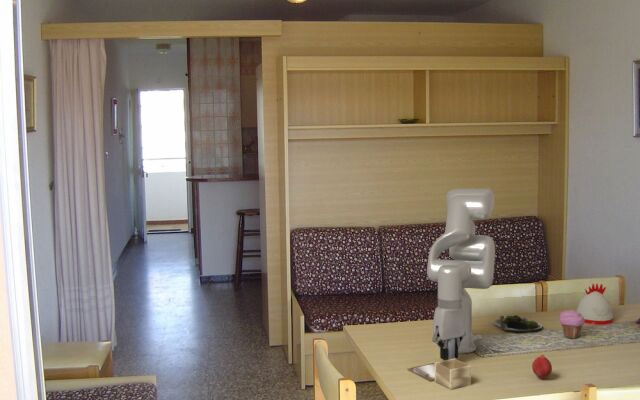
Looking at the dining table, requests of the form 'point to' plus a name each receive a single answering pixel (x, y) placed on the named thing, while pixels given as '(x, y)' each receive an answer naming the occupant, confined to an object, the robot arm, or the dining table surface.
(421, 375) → the clipboard
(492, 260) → the robot arm
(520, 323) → the salad plate
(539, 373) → the onion
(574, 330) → the cupcake
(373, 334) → the dining table surface
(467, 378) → the wooden box
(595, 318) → the white and red dome
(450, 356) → the cylinder
